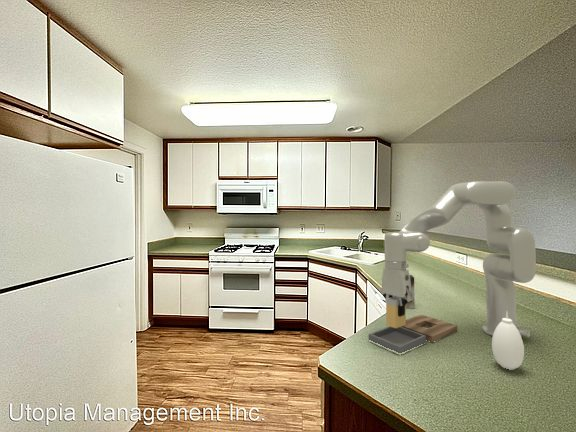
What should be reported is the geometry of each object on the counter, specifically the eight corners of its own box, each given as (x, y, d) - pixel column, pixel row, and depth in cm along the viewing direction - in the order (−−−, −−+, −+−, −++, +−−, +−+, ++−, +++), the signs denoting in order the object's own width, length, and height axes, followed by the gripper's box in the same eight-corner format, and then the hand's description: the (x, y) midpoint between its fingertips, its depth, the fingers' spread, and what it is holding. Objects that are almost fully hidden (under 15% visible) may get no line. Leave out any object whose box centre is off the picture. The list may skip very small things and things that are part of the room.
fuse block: (405, 324, 109) (405, 298, 109) (395, 328, 106) (395, 301, 105) (396, 321, 112) (396, 295, 112) (386, 325, 109) (386, 298, 109)
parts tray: (426, 343, 108) (425, 335, 108) (400, 356, 99) (399, 347, 99) (394, 331, 119) (394, 324, 119) (368, 341, 110) (368, 334, 110)
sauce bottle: (486, 365, 92) (485, 308, 92) (503, 360, 95) (502, 305, 95) (513, 377, 85) (512, 316, 84) (530, 372, 87) (529, 312, 87)
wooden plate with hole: (457, 331, 118) (457, 325, 118) (432, 343, 108) (432, 336, 108) (420, 319, 131) (420, 314, 131) (395, 329, 121) (395, 323, 121)
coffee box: (395, 308, 148) (395, 276, 147) (394, 304, 154) (393, 274, 154) (415, 309, 145) (414, 277, 145) (412, 305, 152) (412, 274, 152)
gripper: (421, 267, 104) (422, 318, 104) (383, 261, 118) (384, 306, 118) (409, 269, 100) (409, 323, 100) (370, 263, 114) (371, 309, 114)
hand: (395, 313), depth 109 cm, fingers closed on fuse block, 4 cm apart
